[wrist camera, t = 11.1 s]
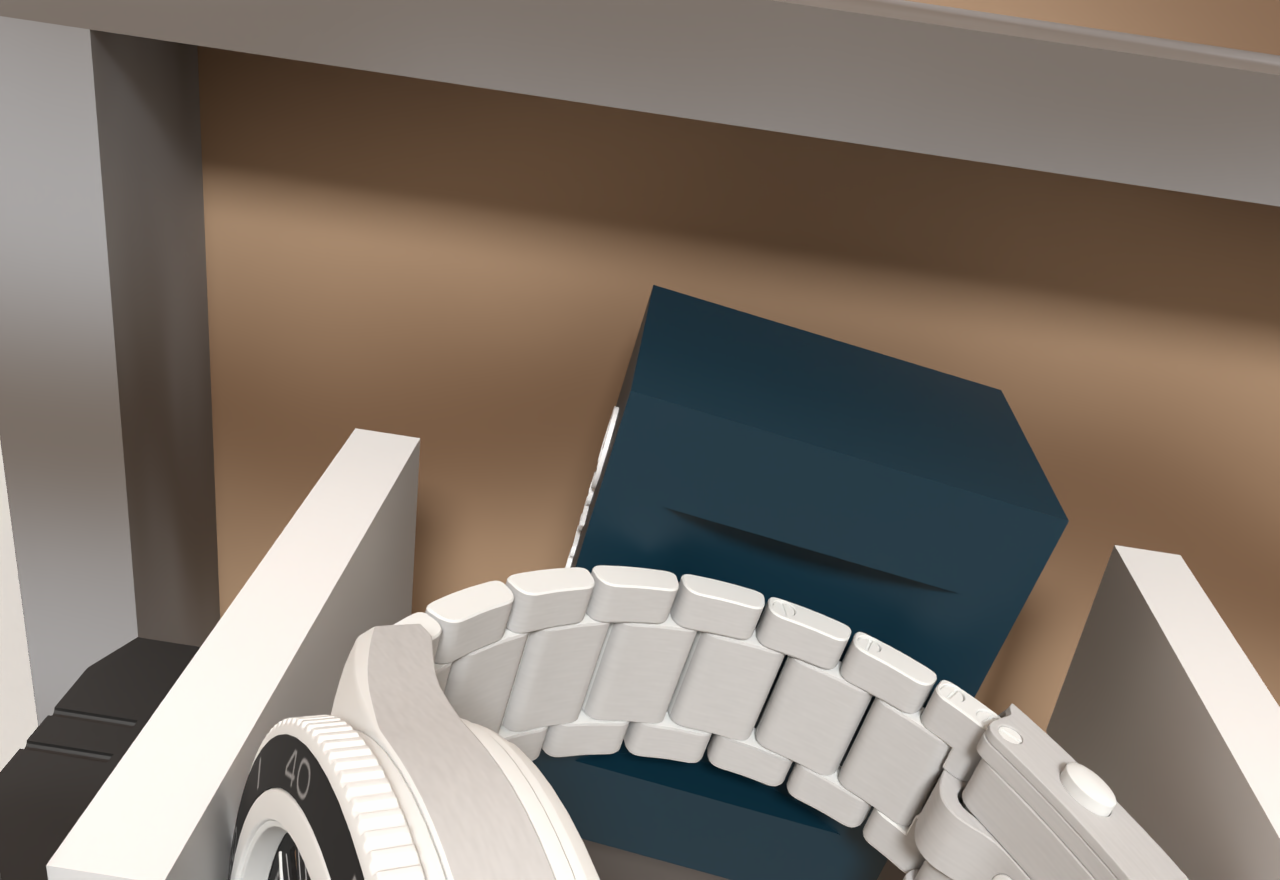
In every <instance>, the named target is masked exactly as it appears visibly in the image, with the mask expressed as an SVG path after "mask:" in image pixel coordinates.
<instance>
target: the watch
mask: <svg viewBox="0 0 1280 880" xmlns="http://www.w3.org/2000/svg"><path fill="white" fill-rule="evenodd" d="M597 462H598V465H597V468H596V472H594V475H593V478H592V482H591V485H590V488H589V494H588V496H587V498H586V501H585V505H584V509H583V513H582V514H581V517H580V521H579V525H578V527H577V530H576V534H575V538H574V542H573V546H572V547H571V550H570V553H569V556H568V559H567V563H566V566H565V568H556V569H546V570H537V571H531V572H524V573H518V574H514V575H511V576H509V577H508V578H507V581H506V584H504V583H503V582H501V581H490V582H486V583H482V584H479V585H476V586H472V587H469V588H466V589H463V590H460V591H457V592H455V593H452V594H450V595H447V596H445V597H443V598H440V599H438V600H436V601H434V602H432V603H430V604H429V605H428V606H427V608H426V611H425V613H423V612H417V613H414V614H412V615H410V616H408V617H406V618H404V619H403V620H401V621H399V622H397V623H395V624H394V625H387V626H375V627H373V628H371V629H370V630H368V631H366V632H365V633H363V634H361V635H360V636H359V637H358V638H357V639H356V641H355V643H354V646H353V648H352V650H351V652H350V654H349V656H348V659H347V661H346V663H345V666H344V669H343V672H342V675H341V678H340V682H339V685H338V688H337V692H336V695H335V699H334V703H333V708H332V712H331V715H314V716H303V717H292V718H287V719H283V720H282V721H280V722H278V724H276V725H274V727H273V728H272V729H270V731H269V733H267V735H266V737H265V739H263V741H262V744H261V745H260V747H259V749H258V752H257V753H256V756H255V759H254V761H253V763H252V766H251V769H250V772H249V775H248V778H247V781H246V784H245V787H244V790H243V794H242V798H241V802H240V806H239V810H238V814H237V819H236V824H235V829H234V834H233V840H232V847H231V853H230V862H229V871H228V880H600V878H599V876H598V874H597V872H596V869H595V867H594V865H593V863H592V860H591V858H590V856H589V853H588V851H587V849H586V847H585V844H584V842H583V840H582V839H584V840H588V841H592V842H595V843H599V844H603V845H606V846H610V847H614V848H617V849H621V850H625V851H628V852H632V853H635V854H639V855H643V856H646V857H650V858H654V859H657V860H661V861H665V862H668V863H672V864H675V865H679V866H683V867H686V868H690V869H694V870H697V871H701V872H705V873H708V874H712V875H716V876H719V877H723V878H726V879H730V880H877V879H878V877H879V875H880V873H881V871H882V869H883V867H884V866H885V864H886V862H887V860H888V859H889V860H890V861H891V862H892V863H893V864H895V865H896V866H897V867H898V868H899V869H900V870H901V871H903V872H904V873H906V875H905V877H904V879H903V880H1189V879H1188V878H1187V876H1186V875H1185V874H1184V873H1183V872H1182V871H1181V870H1180V869H1179V867H1178V866H1177V865H1176V864H1175V863H1174V862H1173V861H1172V860H1171V858H1170V857H1169V856H1168V855H1167V854H1166V853H1165V852H1164V851H1163V849H1162V848H1161V847H1160V846H1159V845H1158V844H1157V843H1156V842H1155V841H1154V840H1153V839H1152V838H1151V837H1150V836H1149V835H1148V833H1147V832H1146V831H1145V830H1144V829H1143V828H1142V827H1141V826H1140V825H1139V824H1138V823H1137V822H1136V821H1135V820H1134V819H1133V818H1132V817H1131V816H1130V815H1129V814H1128V813H1127V811H1126V810H1125V809H1124V808H1123V807H1122V806H1121V805H1120V804H1119V803H1118V802H1117V801H1116V798H1115V795H1114V793H1113V792H1112V790H1111V789H1110V788H1109V786H1108V785H1107V784H1106V783H1105V782H1104V781H1103V780H1102V779H1101V778H1100V777H1099V776H1098V775H1097V774H1095V773H1094V772H1093V771H1091V770H1090V769H1088V768H1087V767H1085V766H1083V765H1081V764H1079V763H1077V762H1076V761H1075V760H1074V759H1073V758H1072V757H1071V756H1070V755H1069V754H1068V753H1067V752H1066V751H1065V750H1064V749H1063V748H1062V747H1060V746H1059V745H1058V744H1057V743H1056V742H1055V741H1054V740H1053V739H1052V738H1051V737H1050V736H1049V735H1048V734H1046V733H1045V732H1044V731H1043V730H1042V729H1041V728H1040V727H1039V726H1038V725H1037V724H1035V723H1034V722H1033V721H1032V720H1031V719H1030V718H1029V717H1028V716H1027V715H1025V714H1024V713H1023V712H1022V711H1021V710H1020V709H1019V708H1017V707H1016V706H1015V705H1014V704H1011V705H1010V706H1009V707H1008V709H1006V710H1005V711H1003V712H1002V713H1000V714H999V715H997V714H996V713H994V712H993V711H992V710H990V709H989V708H988V707H986V706H985V705H984V704H982V703H981V702H979V701H978V700H977V699H975V696H976V694H977V692H978V690H979V688H980V686H981V685H982V683H983V681H984V679H985V677H986V675H987V673H988V671H989V670H990V668H991V666H992V664H993V662H994V660H995V658H996V657H997V655H998V653H999V651H1000V649H1001V647H1002V645H1003V643H1004V642H1005V640H1006V638H1007V636H1008V634H1009V632H1010V630H1011V629H1012V627H1013V625H1014V623H1015V621H1016V619H1017V617H1018V615H1019V614H1020V612H1021V610H1022V608H1023V606H1024V604H1025V602H1026V601H1027V599H1028V597H1029V595H1030V593H1031V591H1032V589H1033V587H1034V586H1035V584H1036V582H1037V580H1038V578H1039V576H1040V574H1041V573H1042V571H1043V569H1044V567H1045V565H1046V563H1047V561H1048V559H1049V558H1050V556H1051V554H1052V552H1053V550H1054V548H1055V546H1056V545H1057V543H1058V541H1059V539H1060V537H1061V535H1062V533H1063V531H1064V530H1065V528H1066V526H1067V524H1068V522H1069V520H1068V518H1067V516H1066V514H1065V512H1064V510H1063V508H1062V506H1061V505H1060V503H1059V501H1058V499H1057V497H1056V495H1055V493H1054V491H1053V489H1052V487H1051V485H1050V483H1049V481H1048V479H1047V477H1046V476H1045V474H1044V472H1043V470H1042V468H1041V466H1040V464H1039V462H1038V460H1037V458H1036V456H1035V454H1034V452H1033V450H1032V448H1031V447H1030V445H1029V443H1028V441H1027V439H1026V437H1025V435H1024V433H1023V431H1022V429H1021V427H1020V425H1019V423H1018V421H1017V419H1016V417H1015V416H1014V414H1013V412H1012V410H1011V408H1010V406H1009V404H1008V402H1007V400H1006V398H1005V396H1004V394H1003V392H1002V390H999V389H996V388H993V387H989V386H986V385H983V384H979V383H976V382H973V381H970V380H966V379H963V378H960V377H956V376H953V375H950V374H946V373H943V372H940V371H937V370H933V369H930V368H927V367H923V366H920V365H917V364H913V363H910V362H907V361H904V360H900V359H897V358H894V357H890V356H887V355H884V354H880V353H877V352H874V351H871V350H867V349H864V348H861V347H857V346H854V345H851V344H847V343H844V342H841V341H838V340H834V339H831V338H828V337H824V336H821V335H818V334H814V333H811V332H808V331H805V330H801V329H798V328H795V327H791V326H788V325H785V324H781V323H778V322H775V321H772V320H768V319H765V318H762V317H758V316H755V315H752V314H748V313H745V312H742V311H739V310H735V309H732V308H729V307H725V306H722V305H719V304H715V303H712V302H709V301H706V300H702V299H699V298H696V297H692V296H689V295H686V294H682V293H679V292H676V291H673V290H669V289H666V288H663V287H659V286H656V285H653V287H652V291H651V294H650V297H649V300H648V304H647V307H646V310H645V313H644V317H643V320H642V323H641V326H640V330H639V333H638V336H637V339H636V342H635V346H634V349H633V352H632V355H631V359H630V362H629V365H628V368H627V372H626V375H625V378H624V381H623V385H622V388H621V391H620V394H619V398H618V401H617V404H616V406H614V409H613V412H612V415H611V418H610V421H609V424H608V427H607V431H606V434H605V437H604V440H603V444H602V447H601V451H600V454H599V458H598V461H597Z"/></svg>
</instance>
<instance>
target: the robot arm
mask: <svg viewBox="0 0 1280 880" xmlns="http://www.w3.org/2000/svg"><path fill="white" fill-rule="evenodd" d="M419 453H420V438H416V437H409V436H403V435H396V434H390V433H383V432H376V431H370V430H363V429H357V428H355V430H354V431H353V433H352V434H351V435H350V437H349V438H348V440H347V441H346V442H345V444H344V445H343V447H342V448H341V449H340V451H339V452H338V454H337V455H336V457H335V458H334V459H333V461H332V462H331V464H330V465H329V466H328V468H327V469H326V471H325V472H324V474H323V475H322V476H321V478H320V479H319V481H318V482H317V483H316V485H315V486H314V488H313V489H312V490H311V492H310V493H309V495H308V496H307V498H306V499H305V500H304V502H303V503H302V505H301V506H300V507H299V509H298V510H297V512H296V513H295V514H294V516H293V517H292V519H291V520H290V522H289V523H288V524H287V526H286V527H285V529H284V530H283V531H282V533H281V534H280V536H279V537H278V539H277V540H276V541H275V543H274V544H273V546H272V547H271V548H270V550H269V551H268V553H267V554H266V555H265V557H264V558H263V560H262V561H261V563H260V564H259V565H258V567H257V568H256V570H255V571H254V572H253V574H252V575H251V577H250V578H249V579H248V581H247V582H246V584H245V585H244V587H243V588H242V589H241V591H240V592H239V594H238V595H237V596H236V598H235V599H234V601H233V602H232V604H231V605H230V606H229V608H228V609H227V611H226V612H225V613H224V615H223V616H222V618H221V619H220V620H219V622H218V623H217V625H216V626H215V628H214V629H213V630H212V632H211V633H210V635H209V636H208V637H207V639H206V640H205V642H204V643H203V644H202V646H201V647H197V646H191V645H184V644H178V643H172V642H165V641H159V640H152V639H146V638H140V637H137V638H135V639H134V640H132V641H130V642H129V643H127V644H125V645H124V646H122V647H121V648H119V649H117V650H116V651H114V652H112V653H111V654H109V655H107V656H106V657H104V658H102V659H101V660H99V661H98V662H96V663H94V664H93V665H91V666H89V667H88V668H87V669H86V670H85V671H84V672H83V674H82V675H81V676H80V677H79V678H78V680H77V681H76V682H75V683H74V684H73V686H72V687H71V688H70V689H69V690H68V692H67V693H66V694H65V695H64V696H63V698H62V699H61V700H60V701H59V702H58V704H57V705H56V706H55V707H54V713H53V715H52V716H50V715H48V716H47V717H46V718H45V719H44V720H43V722H42V723H41V724H40V725H39V726H38V728H37V729H36V730H35V731H34V732H33V734H32V735H31V736H30V737H29V738H28V740H27V744H26V747H25V749H19V750H18V752H17V753H16V754H15V755H14V756H13V758H12V759H11V760H10V761H9V762H8V764H7V765H6V766H5V767H4V768H3V770H2V771H1V772H0V880H228V871H229V862H230V853H231V847H232V840H233V834H234V829H235V824H236V819H237V814H238V810H239V806H240V802H241V798H242V794H243V790H244V787H245V784H246V781H247V778H248V775H249V772H250V769H251V766H252V763H253V761H254V759H255V756H256V753H257V752H258V749H259V747H260V745H261V744H262V741H263V739H265V737H266V735H267V733H269V731H270V729H272V728H273V727H274V725H276V724H278V722H280V721H282V720H283V719H287V718H292V717H303V716H314V715H331V712H332V708H333V703H334V699H335V695H336V692H337V688H338V685H339V682H340V678H341V675H342V672H343V669H344V666H345V663H346V661H347V659H348V656H349V654H350V652H351V650H352V648H353V646H354V643H355V641H356V639H357V638H358V637H359V636H360V635H361V634H363V633H365V632H366V631H368V630H370V629H371V628H373V627H375V626H387V625H394V624H395V623H397V622H399V621H401V620H403V619H404V618H406V617H408V616H410V615H411V611H412V591H413V571H414V552H415V532H416V512H417V493H418V473H419ZM1046 731H1047V734H1048V735H1049V736H1050V737H1051V738H1052V739H1053V740H1054V741H1055V742H1056V743H1057V744H1058V745H1059V746H1060V747H1062V748H1063V749H1064V750H1065V751H1066V752H1067V753H1068V754H1069V755H1070V756H1071V757H1072V758H1073V759H1074V760H1075V761H1076V762H1077V763H1079V764H1081V765H1083V766H1085V767H1087V768H1088V769H1090V770H1091V771H1093V772H1094V773H1095V774H1097V775H1098V776H1099V777H1100V778H1101V779H1102V780H1103V781H1104V782H1105V783H1106V784H1107V785H1108V786H1109V788H1110V789H1111V790H1112V792H1113V793H1114V795H1115V798H1116V801H1117V802H1118V803H1119V804H1120V805H1121V806H1122V807H1123V808H1124V809H1125V810H1126V811H1127V813H1128V814H1129V815H1130V816H1131V817H1132V818H1133V819H1134V820H1135V821H1136V822H1137V823H1138V824H1139V825H1140V826H1141V827H1142V828H1143V829H1144V830H1145V831H1146V832H1147V833H1148V835H1149V836H1150V837H1151V838H1152V839H1153V840H1154V841H1155V842H1156V843H1157V844H1158V845H1159V846H1160V847H1161V848H1162V849H1163V851H1164V852H1165V853H1166V854H1167V855H1168V856H1169V857H1170V858H1171V860H1172V861H1173V862H1174V863H1175V864H1176V865H1177V866H1178V867H1179V869H1180V870H1181V871H1182V872H1183V873H1184V874H1185V875H1186V876H1187V878H1188V879H1189V880H1280V707H1279V705H1278V704H1277V702H1276V701H1275V699H1274V698H1273V696H1272V695H1271V693H1270V692H1269V690H1268V689H1267V687H1266V685H1265V684H1264V682H1263V681H1262V679H1261V678H1260V676H1259V675H1258V673H1257V672H1256V670H1255V669H1254V667H1253V666H1252V664H1251V663H1250V661H1249V659H1248V658H1247V656H1246V655H1245V653H1244V652H1243V650H1242V649H1241V647H1240V646H1239V644H1238V643H1237V641H1236V640H1235V638H1234V636H1233V635H1232V633H1231V632H1230V630H1229V629H1228V627H1227V626H1226V624H1225V623H1224V621H1223V620H1222V618H1221V617H1220V615H1219V613H1218V612H1217V610H1216V609H1215V607H1214V606H1213V604H1212V603H1211V601H1210V600H1209V598H1208V597H1207V595H1206V594H1205V592H1204V591H1203V589H1202V587H1201V586H1200V584H1199V583H1198V581H1197V580H1196V578H1195V577H1194V575H1193V574H1192V572H1191V571H1190V569H1189V568H1188V566H1187V564H1186V563H1185V561H1184V560H1183V558H1182V557H1181V555H1176V554H1170V553H1163V552H1157V551H1150V550H1144V549H1137V548H1131V547H1124V546H1118V545H1114V547H1113V550H1112V553H1111V556H1110V558H1109V561H1108V564H1107V566H1106V569H1105V572H1104V575H1103V577H1102V580H1101V583H1100V585H1099V588H1098V591H1097V593H1096V596H1095V599H1094V602H1093V604H1092V607H1091V610H1090V612H1089V615H1088V618H1087V621H1086V623H1085V626H1084V629H1083V631H1082V634H1081V637H1080V640H1079V642H1078V645H1077V648H1076V650H1075V653H1074V656H1073V659H1072V661H1071V664H1070V667H1069V669H1068V672H1067V675H1066V678H1065V680H1064V683H1063V686H1062V688H1061V691H1060V694H1059V696H1058V699H1057V702H1056V705H1055V707H1054V710H1053V713H1052V715H1051V718H1050V721H1049V724H1048V726H1047V729H1046Z"/></svg>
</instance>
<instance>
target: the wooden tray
mask: <svg viewBox="0 0 1280 880" xmlns="http://www.w3.org/2000/svg"><path fill="white" fill-rule="evenodd" d="M653 285H656V286H659V287H663V288H666V289H669V290H673V291H676V292H679V293H682V294H686V295H689V296H692V297H696V298H699V299H702V300H706V301H709V302H712V303H715V304H719V305H722V306H725V307H729V308H732V309H735V310H739V311H742V312H745V313H748V314H752V315H755V316H758V317H762V318H765V319H768V320H772V321H775V322H778V323H781V324H785V325H788V326H791V327H795V328H798V329H801V330H805V331H808V332H811V333H814V334H818V335H821V336H824V337H828V338H831V339H834V340H838V341H841V342H844V343H847V344H851V345H854V346H857V347H861V348H864V349H867V350H871V351H874V352H877V353H880V354H884V355H887V356H890V357H894V358H897V359H900V360H904V361H907V362H910V363H913V364H917V365H920V366H923V367H927V368H930V369H933V370H937V371H940V372H943V373H946V374H950V375H953V376H956V377H960V378H963V379H966V380H970V381H973V382H976V383H979V384H983V385H986V386H989V387H993V388H996V389H999V390H1002V392H1003V394H1004V396H1005V398H1006V400H1007V402H1008V404H1009V406H1010V408H1011V410H1012V412H1013V414H1014V416H1015V417H1016V419H1017V421H1018V423H1019V425H1020V427H1021V429H1022V431H1023V433H1024V435H1025V437H1026V439H1027V441H1028V443H1029V445H1030V447H1031V448H1032V450H1033V452H1034V454H1035V456H1036V458H1037V460H1038V462H1039V464H1040V466H1041V468H1042V470H1043V472H1044V474H1045V476H1046V477H1047V479H1048V481H1049V483H1050V485H1051V487H1052V489H1053V491H1054V493H1055V495H1056V497H1057V499H1058V501H1059V503H1060V505H1061V506H1062V508H1063V510H1064V512H1065V514H1066V516H1067V518H1068V520H1069V522H1068V524H1067V526H1066V528H1065V530H1064V531H1063V533H1062V535H1061V537H1060V539H1059V541H1058V543H1057V545H1056V546H1055V548H1054V550H1053V552H1052V554H1051V556H1050V558H1049V559H1048V561H1047V563H1046V565H1045V567H1044V569H1043V571H1042V573H1041V574H1040V576H1039V578H1038V580H1037V582H1036V584H1035V586H1034V587H1033V589H1032V591H1031V593H1030V595H1029V597H1028V599H1027V601H1026V602H1025V604H1024V606H1023V608H1022V610H1021V612H1020V614H1019V615H1018V617H1017V619H1016V621H1015V623H1014V625H1013V627H1012V629H1011V630H1010V632H1009V634H1008V636H1007V638H1006V640H1005V642H1004V643H1003V645H1002V647H1001V649H1000V651H999V653H998V655H997V657H996V658H995V660H994V662H993V664H992V666H991V668H990V670H989V671H988V673H987V675H986V677H985V679H984V681H983V683H982V685H981V686H980V688H979V690H978V692H977V694H976V696H975V699H977V700H978V701H979V702H981V703H982V704H984V705H985V706H986V707H988V708H989V709H990V710H992V711H993V712H994V713H996V714H997V715H999V714H1000V713H1002V712H1003V711H1005V710H1006V709H1008V707H1009V706H1010V705H1011V704H1014V705H1015V706H1016V707H1017V708H1019V709H1020V710H1021V711H1022V712H1023V713H1024V714H1025V715H1027V716H1028V717H1029V718H1030V719H1031V720H1032V721H1033V722H1034V723H1035V724H1037V725H1038V726H1039V727H1040V728H1041V729H1042V730H1043V731H1044V732H1045V733H1046V734H1047V731H1046V729H1047V726H1048V724H1049V721H1050V718H1051V715H1052V713H1053V710H1054V707H1055V705H1056V702H1057V699H1058V696H1059V694H1060V691H1061V688H1062V686H1063V683H1064V680H1065V678H1066V675H1067V672H1068V669H1069V667H1070V664H1071V661H1072V659H1073V656H1074V653H1075V650H1076V648H1077V645H1078V642H1079V640H1080V637H1081V634H1082V631H1083V629H1084V626H1085V623H1086V621H1087V618H1088V615H1089V612H1090V610H1091V607H1092V604H1093V602H1094V599H1095V596H1096V593H1097V591H1098V588H1099V585H1100V583H1101V580H1102V577H1103V575H1104V572H1105V569H1106V566H1107V564H1108V561H1109V558H1110V556H1111V553H1112V550H1113V547H1114V545H1118V546H1124V547H1131V548H1137V549H1144V550H1150V551H1157V552H1163V553H1170V554H1176V555H1181V557H1182V558H1183V560H1184V561H1185V563H1186V564H1187V566H1188V568H1189V569H1190V571H1191V572H1192V574H1193V575H1194V577H1195V578H1196V580H1197V581H1198V583H1199V584H1200V586H1201V587H1202V589H1203V591H1204V592H1205V594H1206V595H1207V597H1208V598H1209V600H1210V601H1211V603H1212V604H1213V606H1214V607H1215V609H1216V610H1217V612H1218V613H1219V615H1220V617H1221V618H1222V620H1223V621H1224V623H1225V624H1226V626H1227V627H1228V629H1229V630H1230V632H1231V633H1232V635H1233V636H1234V638H1235V640H1236V641H1237V643H1238V644H1239V646H1240V647H1241V649H1242V650H1243V652H1244V653H1245V655H1246V656H1247V658H1248V659H1249V661H1250V663H1251V664H1252V666H1253V667H1254V669H1255V670H1256V672H1257V673H1258V675H1259V676H1260V678H1261V679H1262V681H1263V682H1264V684H1265V685H1266V687H1267V689H1268V690H1269V692H1270V693H1271V695H1272V696H1273V698H1274V699H1275V701H1276V702H1277V704H1278V705H1279V707H1280V0H0V440H1V448H2V455H3V463H4V471H5V478H6V486H7V493H8V501H9V508H10V516H11V523H12V531H13V538H14V546H15V554H16V561H17V569H18V576H19V584H20V591H21V599H22V606H23V614H24V621H25V629H26V637H27V644H28V652H29V659H30V667H31V674H32V682H33V689H34V697H35V704H36V712H37V720H38V726H39V725H40V724H41V723H42V722H43V720H44V719H45V718H46V717H47V716H48V715H50V716H52V715H53V713H54V707H55V706H56V705H57V704H58V702H59V701H60V700H61V699H62V698H63V696H64V695H65V694H66V693H67V692H68V690H69V689H70V688H71V687H72V686H73V684H74V683H75V682H76V681H77V680H78V678H79V677H80V676H81V675H82V674H83V672H84V671H85V670H86V669H87V668H88V667H89V666H91V665H93V664H94V663H96V662H98V661H99V660H101V659H102V658H104V657H106V656H107V655H109V654H111V653H112V652H114V651H116V650H117V649H119V648H121V647H122V646H124V645H125V644H127V643H129V642H130V641H132V640H134V639H135V638H137V637H140V638H146V639H152V640H159V641H165V642H172V643H178V644H184V645H191V646H197V647H201V646H202V644H203V643H204V642H205V640H206V639H207V637H208V636H209V635H210V633H211V632H212V630H213V629H214V628H215V626H216V625H217V623H218V622H219V620H220V619H221V618H222V616H223V615H224V613H225V612H226V611H227V609H228V608H229V606H230V605H231V604H232V602H233V601H234V599H235V598H236V596H237V595H238V594H239V592H240V591H241V589H242V588H243V587H244V585H245V584H246V582H247V581H248V579H249V578H250V577H251V575H252V574H253V572H254V571H255V570H256V568H257V567H258V565H259V564H260V563H261V561H262V560H263V558H264V557H265V555H266V554H267V553H268V551H269V550H270V548H271V547H272V546H273V544H274V543H275V541H276V540H277V539H278V537H279V536H280V534H281V533H282V531H283V530H284V529H285V527H286V526H287V524H288V523H289V522H290V520H291V519H292V517H293V516H294V514H295V513H296V512H297V510H298V509H299V507H300V506H301V505H302V503H303V502H304V500H305V499H306V498H307V496H308V495H309V493H310V492H311V490H312V489H313V488H314V486H315V485H316V483H317V482H318V481H319V479H320V478H321V476H322V475H323V474H324V472H325V471H326V469H327V468H328V466H329V465H330V464H331V462H332V461H333V459H334V458H335V457H336V455H337V454H338V452H339V451H340V449H341V448H342V447H343V445H344V444H345V442H346V441H347V440H348V438H349V437H350V435H351V434H352V433H353V431H354V430H355V428H357V429H363V430H370V431H376V432H383V433H390V434H396V435H403V436H409V437H416V438H420V453H419V473H418V493H417V512H416V532H415V552H414V571H413V591H412V611H411V615H412V614H414V613H417V612H423V613H425V611H426V608H427V606H428V605H429V604H430V603H432V602H434V601H436V600H438V599H440V598H443V597H445V596H447V595H450V594H452V593H455V592H457V591H460V590H463V589H466V588H469V587H472V586H476V585H479V584H482V583H486V582H490V581H501V582H503V583H504V584H506V581H507V578H508V577H509V576H511V575H514V574H518V573H524V572H531V571H537V570H546V569H556V568H565V566H566V563H567V559H568V556H569V553H570V550H571V547H572V546H573V542H574V538H575V534H576V530H577V527H578V525H579V521H580V517H581V514H582V513H583V509H584V505H585V501H586V498H587V496H588V494H589V488H590V485H591V482H592V478H593V475H594V472H596V468H597V465H598V462H597V461H598V458H599V454H600V451H601V447H602V444H603V440H604V437H605V434H606V431H607V427H608V424H609V421H610V418H611V415H612V412H613V409H614V406H616V404H617V401H618V398H619V394H620V391H621V388H622V385H623V381H624V378H625V375H626V372H627V368H628V365H629V362H630V359H631V355H632V352H633V349H634V346H635V342H636V339H637V336H638V333H639V330H640V326H641V323H642V320H643V317H644V313H645V310H646V307H647V304H648V300H649V297H650V294H651V291H652V287H653ZM582 840H583V842H584V844H585V847H586V849H587V851H588V853H589V856H590V858H591V860H592V863H593V865H594V867H595V869H596V872H597V874H598V876H599V878H600V880H730V879H726V878H723V877H719V876H716V875H712V874H708V873H705V872H701V871H697V870H694V869H690V868H686V867H683V866H679V865H675V864H672V863H668V862H665V861H661V860H657V859H654V858H650V857H646V856H643V855H639V854H635V853H632V852H628V851H625V850H621V849H617V848H614V847H610V846H606V845H603V844H599V843H595V842H592V841H588V840H584V839H582ZM905 875H906V873H904V872H903V871H901V870H900V869H899V868H898V867H897V866H896V865H895V864H893V863H892V862H891V861H890V860H889V859H888V860H887V862H886V864H885V866H884V867H883V869H882V871H881V873H880V875H879V877H878V879H877V880H903V879H904V877H905Z"/></svg>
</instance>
